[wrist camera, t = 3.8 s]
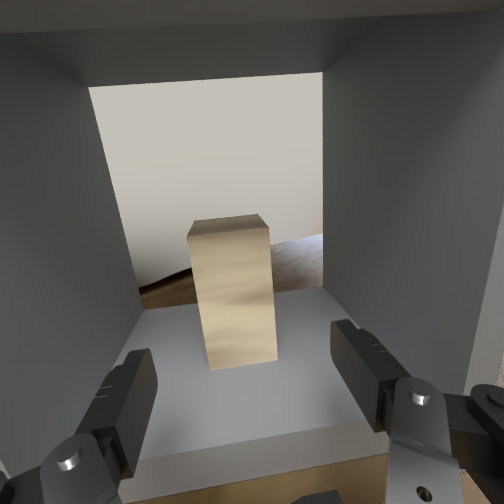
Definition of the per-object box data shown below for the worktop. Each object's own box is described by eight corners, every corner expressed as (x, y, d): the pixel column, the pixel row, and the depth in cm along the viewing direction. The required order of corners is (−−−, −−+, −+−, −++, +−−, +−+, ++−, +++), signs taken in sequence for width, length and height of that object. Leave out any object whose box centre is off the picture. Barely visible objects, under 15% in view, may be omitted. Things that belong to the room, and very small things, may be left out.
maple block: (211, 330, 24) (194, 221, 20) (266, 322, 24) (257, 214, 21) (209, 370, 19) (186, 236, 16) (277, 360, 19) (268, 227, 16)
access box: (134, 336, 29) (61, 65, 21) (336, 307, 31) (340, 49, 23) (18, 563, 12) (-562, -340, 4) (473, 470, 14) (665, -273, 6)
